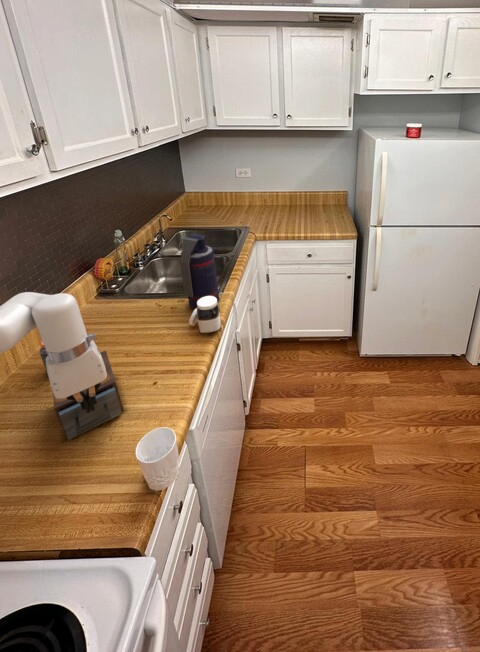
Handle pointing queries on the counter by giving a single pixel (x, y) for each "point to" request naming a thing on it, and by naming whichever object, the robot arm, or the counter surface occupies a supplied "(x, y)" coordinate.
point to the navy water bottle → (198, 269)
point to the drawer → (81, 422)
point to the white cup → (158, 458)
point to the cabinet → (110, 383)
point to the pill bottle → (43, 354)
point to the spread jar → (206, 315)
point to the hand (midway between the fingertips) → (90, 407)
